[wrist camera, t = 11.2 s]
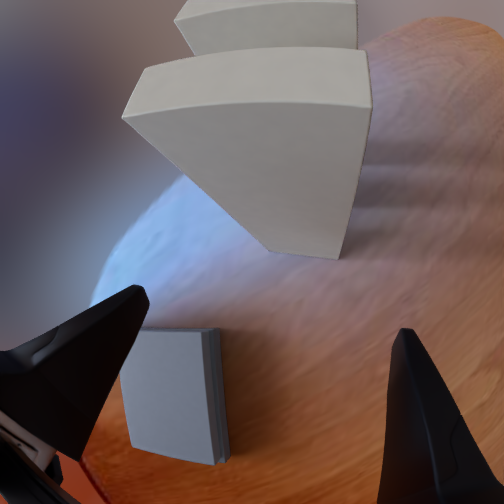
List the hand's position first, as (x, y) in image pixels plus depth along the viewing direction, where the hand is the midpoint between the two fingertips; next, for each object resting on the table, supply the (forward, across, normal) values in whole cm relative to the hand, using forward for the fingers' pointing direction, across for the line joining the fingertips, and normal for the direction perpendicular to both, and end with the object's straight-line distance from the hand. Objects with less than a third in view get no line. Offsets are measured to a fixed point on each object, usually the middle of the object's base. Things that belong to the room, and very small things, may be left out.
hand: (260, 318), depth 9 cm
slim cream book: (+11, 0, +4) cm, 12 cm away
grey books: (+2, +8, +14) cm, 16 cm away
